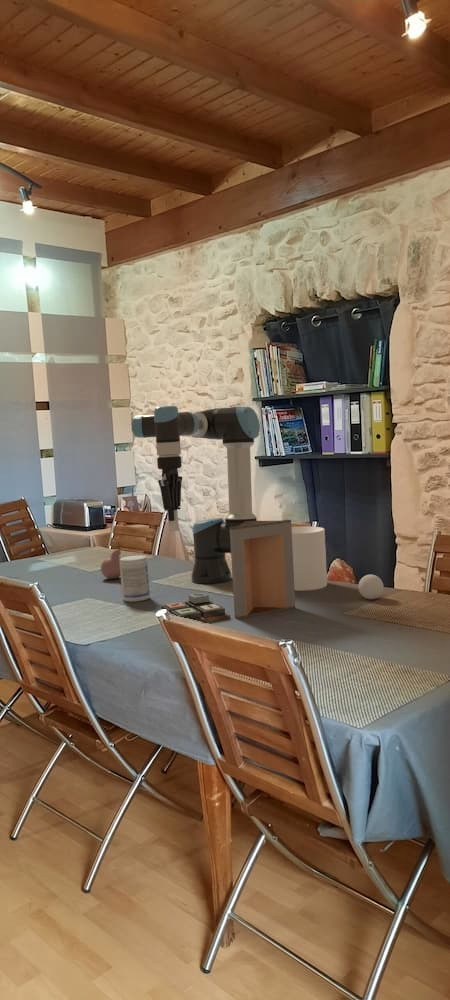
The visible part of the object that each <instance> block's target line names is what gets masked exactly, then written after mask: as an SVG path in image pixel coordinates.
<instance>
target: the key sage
mask: <svg viewBox="0 0 450 1000" xmlns="http://www.w3.org/2000/svg"><path fill="white" fill-rule="evenodd" d="M175 612H176V613H177V614H179V615H184V614H190V613H196V611H195V610H193V609H192V608H186V609H180V610H175Z"/></svg>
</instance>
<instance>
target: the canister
mask: <svg viewBox="0 0 450 1000" xmlns="http://www.w3.org/2000/svg"><path fill="white" fill-rule="evenodd" d="M291 528H292V548H293V568H294V588H295V591H299V592H300V591H302V592H303V591H315V590H320V589H324V588H326V587H327V585H328V573H327V553H326V552H327V551H326V532H325V530H326V529H325V528H324V527H321V526H296V527H295V526H293V527H292V526H291Z"/></svg>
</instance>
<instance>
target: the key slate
mask: <svg viewBox="0 0 450 1000" xmlns="http://www.w3.org/2000/svg"><path fill="white" fill-rule="evenodd" d="M188 601H190V602H192V603H194V604H197V603H203V602H209V601H210V595H209V594H207V593H205V592H196V593H191V594H188Z"/></svg>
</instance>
